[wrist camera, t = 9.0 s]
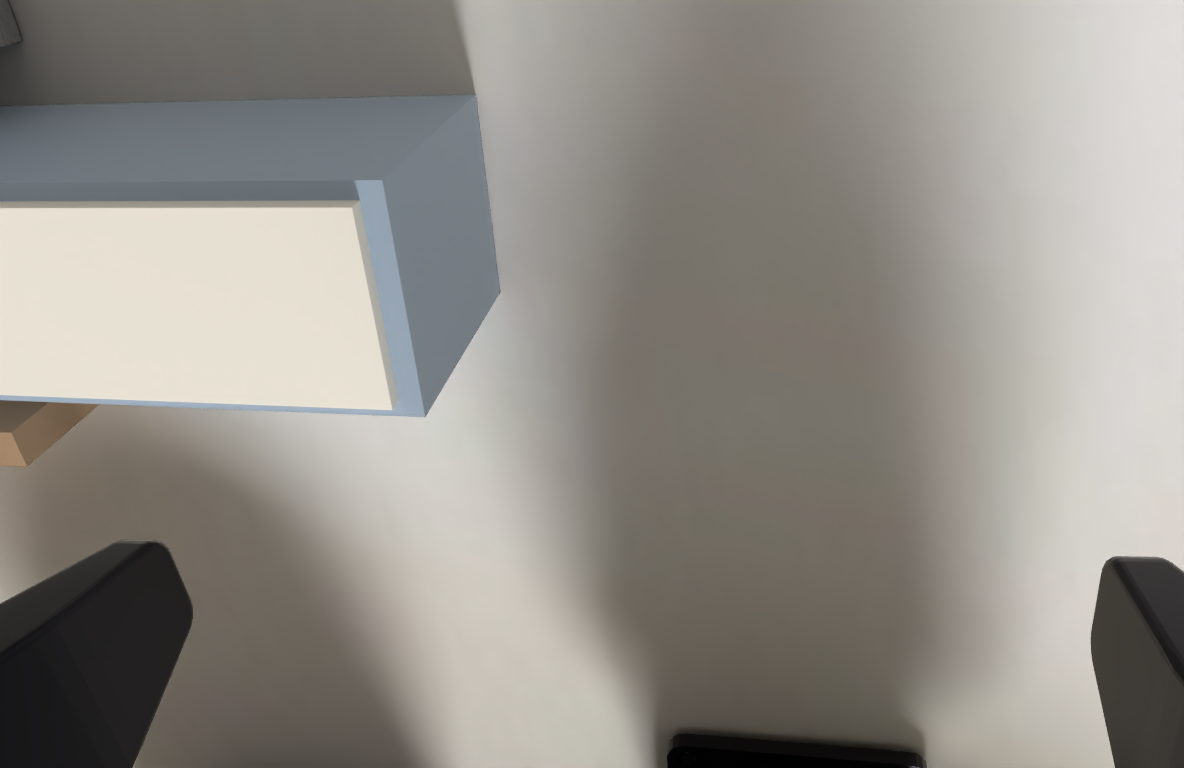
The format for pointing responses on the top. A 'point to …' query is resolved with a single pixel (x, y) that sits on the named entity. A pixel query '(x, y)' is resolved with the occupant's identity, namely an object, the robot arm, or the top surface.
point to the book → (243, 252)
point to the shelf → (34, 428)
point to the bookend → (8, 25)
